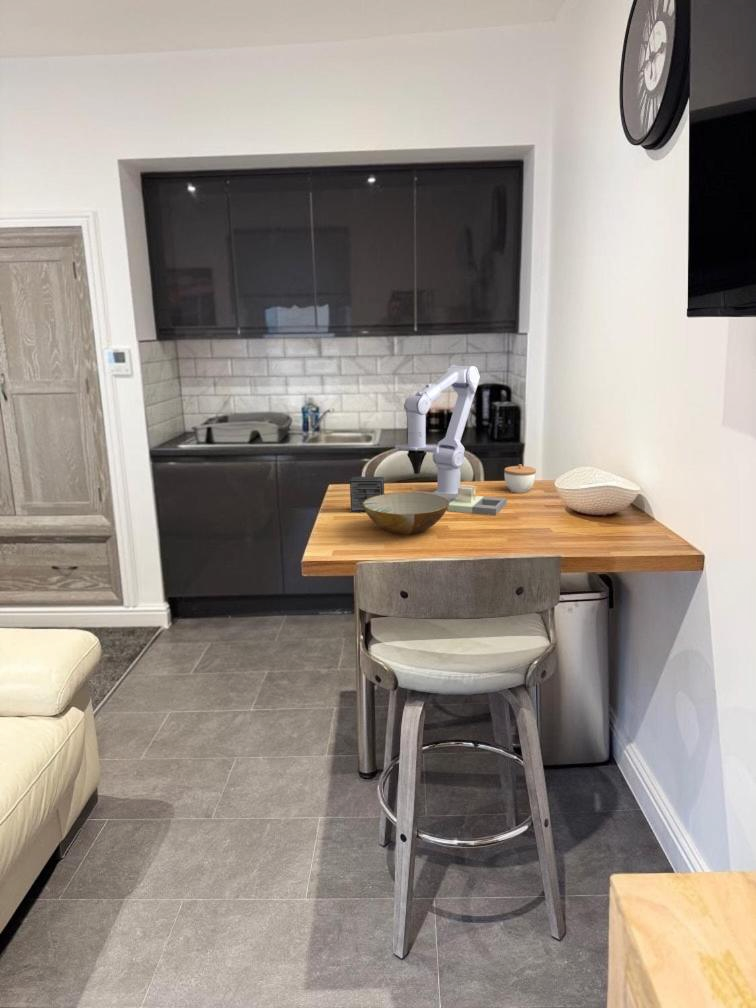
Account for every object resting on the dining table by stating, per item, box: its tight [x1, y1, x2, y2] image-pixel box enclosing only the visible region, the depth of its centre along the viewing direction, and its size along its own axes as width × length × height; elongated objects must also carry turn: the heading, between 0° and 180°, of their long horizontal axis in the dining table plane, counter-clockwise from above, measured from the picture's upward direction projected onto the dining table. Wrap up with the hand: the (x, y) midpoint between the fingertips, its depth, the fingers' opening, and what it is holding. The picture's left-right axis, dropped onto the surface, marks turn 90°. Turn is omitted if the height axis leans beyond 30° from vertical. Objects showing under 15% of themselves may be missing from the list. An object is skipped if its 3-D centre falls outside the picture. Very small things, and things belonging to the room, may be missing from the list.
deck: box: [410, 490, 507, 516], centre depth 235 cm, size 14×32×2 cm, turn 67°
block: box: [457, 484, 476, 503], centre depth 232 cm, size 4×4×4 cm
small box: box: [349, 476, 385, 513], centre depth 230 cm, size 11×6×10 cm, turn 84°
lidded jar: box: [504, 463, 537, 494], centre depth 252 cm, size 11×11×9 cm
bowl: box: [362, 491, 449, 536], centre depth 209 cm, size 25×25×8 cm
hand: (417, 473), depth 239 cm, fingers closed
